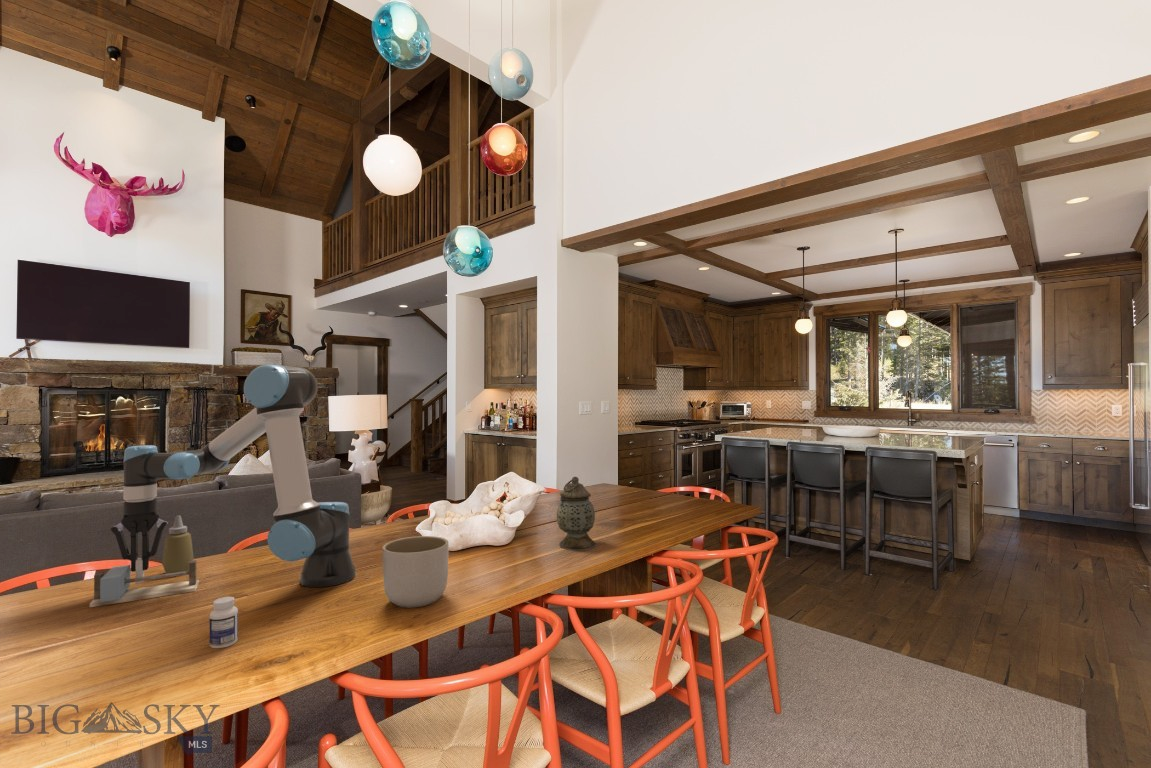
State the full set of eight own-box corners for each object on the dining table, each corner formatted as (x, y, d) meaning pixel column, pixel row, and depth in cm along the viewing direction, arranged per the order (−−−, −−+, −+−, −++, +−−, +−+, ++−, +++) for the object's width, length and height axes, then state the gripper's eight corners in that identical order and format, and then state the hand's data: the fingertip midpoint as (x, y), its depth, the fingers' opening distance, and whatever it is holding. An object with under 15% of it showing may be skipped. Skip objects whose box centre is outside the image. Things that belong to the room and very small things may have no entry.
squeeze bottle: (176, 578, 166) (177, 519, 167) (155, 576, 168) (155, 518, 168) (200, 569, 174) (200, 513, 175) (179, 568, 176) (179, 512, 176)
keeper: (130, 585, 155) (130, 564, 156) (119, 599, 145) (119, 576, 145) (112, 588, 153) (112, 567, 154) (100, 602, 143) (100, 579, 143)
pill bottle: (218, 638, 124) (218, 595, 124) (242, 637, 124) (243, 594, 124) (204, 649, 118) (204, 604, 118) (229, 648, 119) (230, 603, 119)
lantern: (596, 550, 190) (595, 479, 191) (556, 551, 190) (555, 479, 191) (595, 540, 204) (594, 473, 205) (557, 540, 204) (557, 474, 205)
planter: (388, 618, 134) (387, 556, 134) (378, 596, 149) (378, 540, 149) (456, 605, 141) (455, 547, 142) (440, 585, 157) (440, 533, 157)
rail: (198, 582, 162) (198, 557, 162) (195, 591, 155) (195, 564, 155) (98, 597, 150) (98, 570, 151) (89, 607, 143) (89, 578, 144)
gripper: (170, 495, 162) (170, 574, 162) (114, 499, 156) (114, 582, 156) (166, 499, 156) (165, 581, 155) (107, 504, 149) (106, 590, 149)
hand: (139, 581), depth 155 cm, fingers closed
